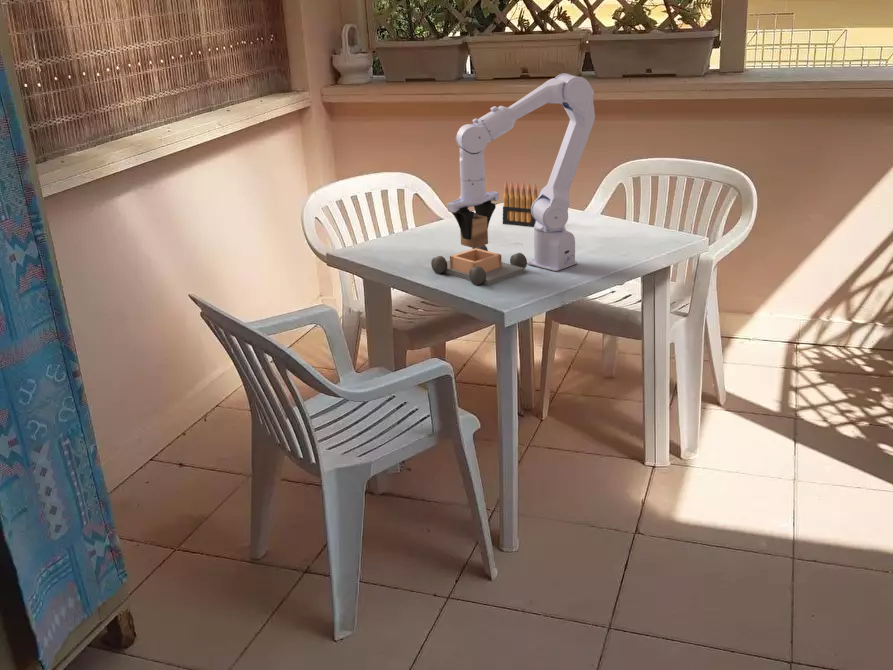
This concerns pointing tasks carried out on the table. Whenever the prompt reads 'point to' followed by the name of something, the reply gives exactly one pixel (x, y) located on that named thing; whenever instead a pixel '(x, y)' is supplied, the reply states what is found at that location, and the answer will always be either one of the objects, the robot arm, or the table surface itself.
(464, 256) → the chassis
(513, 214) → the ammunition clip
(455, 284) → the table surface
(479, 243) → the block
